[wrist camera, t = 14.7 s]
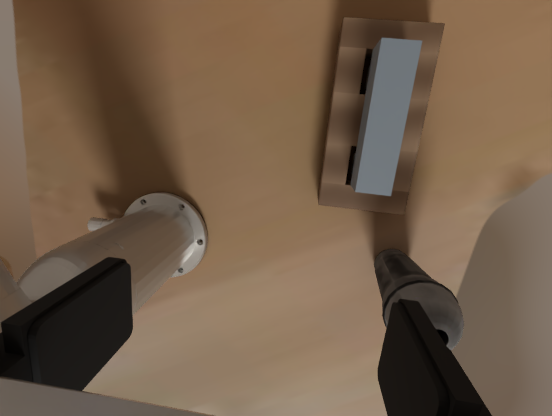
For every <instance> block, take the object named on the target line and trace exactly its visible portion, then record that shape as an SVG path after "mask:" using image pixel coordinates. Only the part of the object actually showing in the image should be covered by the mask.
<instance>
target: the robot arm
mask: <svg viewBox="0 0 552 416" xmlns="http://www.w3.org/2000/svg"><path fill="white" fill-rule="evenodd" d="M145 200H146V201H145ZM183 205H184V206H185V207H183ZM88 229H89V230H90V231H92V232H90V233H88V234H86V235H84V236H81V237H79V238H77V239H75V240H73V241H70V242H68V243H66V244H64V245H61V246H59V247H57V248H55V249H53V250H51V251H49V252H47V253H46V254H44V255H43V256H41V257H40V258H39V259H37V260H36V261H35V262H34V263H33V264H32V265H31V266H30V267H29V268H28V269H27V270H26V271H25V272H24V273H23V275H22V276H21V277H20V279H19V280H18V282H17V283H16V282H15V280H14V279H13V277H12V276H11V274H10V273H9V271H8V269H7V268H6V266H5V265H4V263H3V262H2V260H1V259H0V416H214V415H209V414H204V413H198V412H193V411H188V410H183V409H177V408H172V407H166V406H161V405H156V404H150V403H145V402H140V401H134V400H129V399H123V398H118V397H112V396H107V395H101V394H96V393H90V392H84V391H82V390H83V389H84V388H85V387H86V386H87V384H88V383H89V382H90V381H91V380H92V379H93V378H94V377H95V376H96V374H97V373H98V372H99V371H100V370H101V369H102V368H103V367H104V365H105V364H106V363H107V362H108V361H109V360H110V359H111V358H112V356H113V355H114V354H115V353H116V352H117V351H118V350H119V349H120V347H121V346H122V345H123V344H124V343H125V342H126V341H127V340H128V338H129V337H130V335H131V333H132V329H133V318H132V316H133V315H134V314H135V313H136V312H137V311H138V310H139V309H140V308H141V307H142V306H143V305H144V304H145V303H146V301H147V300H148V299H149V298H150V297H151V296H152V295H153V294H154V293H155V292H156V291H157V290H158V289H159V288H160V287H161V286H162V285H163V284H164V283H165V282H166V281H167V280H168V279H169V278H170V277H177V276H181V275H184V274H186V273H188V272H190V271H191V270H192V269H194V268H195V267H196V266H197V265H198V263H199V262H200V261H201V260H202V258H203V256H204V254H205V251H206V248H207V241H208V237H207V230H206V226H205V223H204V221H203V219H202V217H201V215H200V214H199V212H198V211H197V210H196V209H195V208H194V207H193V206H192V205H191V204H190V203H189V202H188V201H186V200H185V199H183V198H181V197H179V196H177V195H174V194H170V193H166V192H156V193H151V194H147V195H145V196H142V197H140V198H138V199H137V200H135V201H134V202H133V203H132V204H131V205H130V206H129V207H128V209H127V210H126V212H125V214H124V216H123V217H122V218H120V219H119V218H114V219H112V220H107V219H103V218H95V217H93V218H91V219H90V220H89V222H88ZM201 240H202V241H201ZM182 268H183V269H182ZM378 381H379V385H380V389H381V392H382V396H383V400H384V404H385V408H386V411H387V415H388V416H492V415H491V414H490V412H489V410H488V409H487V407H486V406H485V404H484V402H483V401H482V399H481V398H480V396H479V394H478V393H477V391H476V390H475V388H474V387H473V385H472V383H471V382H470V380H469V379H468V377H467V376H466V374H465V372H464V371H463V369H462V367H461V366H460V364H459V363H458V361H457V360H456V358H455V356H454V355H453V354H452V352H451V350H450V349H449V348H448V347H447V346H446V345H445V343H444V341H443V340H442V338H441V337H440V335H439V333H438V332H437V330H436V329H435V327H434V325H433V324H432V322H431V321H430V319H429V317H428V316H427V314H426V313H425V311H424V309H423V308H422V306H421V305H420V303H419V302H418V301H414V300H407V299H399V300H398V302H393V303H392V306H391V310H390V315H389V320H388V324H387V329H386V333H385V338H384V343H383V347H382V352H381V356H380V361H379V366H378Z"/></svg>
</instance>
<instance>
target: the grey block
mask: <svg viewBox="0 0 552 416" xmlns="http://www.w3.org/2000/svg"><path fill="white" fill-rule="evenodd" d="M421 45H422V41H420V40H407V39H393V38H381V39H380V41H379V42H378V43H377V45H376V46H375V47H374V49H373V52H372V58H371V64H370V66H369V67H368V71H367V77H366V83H365V89H364V91H366V94H365V100H364V106H363V112H362V118H361V124H360V130H359V137H358V143H357V149H356V154H354V156H353V162H352V168H351V174H352V179H351V187H352V188H353V190H354V191H355V192H360V193H368V194H376V195H385V196H391V193H392V188H393V183H394V178H395V173H396V168H397V164H398V159H399V154H400V149H401V144H402V139H403V134H404V129H405V124H406V119H407V114H408V109H409V104H410V99H411V95H412V90H413V85H414V80H415V75H416V70H417V65H418V60H419V55H420V50H421Z"/></svg>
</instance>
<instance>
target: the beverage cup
mask: <svg viewBox="0 0 552 416" xmlns="http://www.w3.org/2000/svg"><path fill="white" fill-rule="evenodd" d="M374 267H375V273H376V277H377V281H378V285H379V289H380V293H381V297H382V301H383V303H382V309H383V315H382V316H383V320H384V323H385V326H386V327H387V324H388V320H389V315H390V310H391V306H392V303H393V302H398V300H399V299H407V300H414V301H418V302H419V303H420V305H421V306H422V308H423V309H424V311H425V313H426V314H427V316H428V317H429V319H430V321H431V322H432V324H433V325H434V327H435V329H436V330H437V332H438V333H439V335H440V337H441V338H442V340H443V341H444V343H445V345H446V346H447V347H448V348H449V349H450V350H452V349H453V348H454V347H455V346H456V345H457V344H458V342H459V340H460V339H461V337H462V333H463V327H464V321H463V315H462V311H461V308H460V306H459V305H458V301H457V299H456V298H455V296H454V295H453V293H452V292H451V291H450V290H449V289H448V288H446V287H445V286H444V285H442V284H439V283H438V282H437V281H435V280H434V279H432V278H431V277H430V276H429V275H428V274H426V273H425V272H424V271H423V270H422V269H421V268H420V267H419V266H418V265H417V264H416V263H415V262H414V261H413V260H411V259H410V258H409V257H408V256H407V255H405V254H404V253H403V252H401V251H399V250H397V249H388V250H384V251H383V252H381V253H380V254H379V255H378V256H377V257H376V259H375V263H374Z"/></svg>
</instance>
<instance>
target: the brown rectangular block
mask: <svg viewBox="0 0 552 416" xmlns="http://www.w3.org/2000/svg"><path fill="white" fill-rule="evenodd" d="M444 25H445V23H429V22H413V21H397V20H381V19H365V18H349V17H344V18H343V22H342V26H341V29H340V36H339V44H338V51H337V59H336V66H335V74H334V81H333V89H332V96H331V104H330V111H329V119H328V126H327V134H326V141H325V149H324V156H323V164H322V171H321V179H320V186H319V194H318V204H319V205H324V206H332V207H341V208H349V209H357V210H366V211H374V212H383V213H391V214H399V215H404V214H405V210H406V205H407V200H408V195H409V191H410V186H411V181H412V176H413V172H414V167H415V162H416V158H417V153H418V148H419V143H420V139H421V134H422V129H423V124H424V120H425V115H426V110H427V105H428V101H429V96H430V91H431V87H432V82H433V77H434V72H435V68H436V63H437V58H438V53H439V49H440V44H441V39H442V35H443V30H444ZM381 38H393V39H407V40H420V41H422V45H421V50H420V55H419V60H418V65H417V70H416V75H415V80H414V85H413V90H412V95H411V99H410V104H409V109H408V114H407V119H406V124H405V129H404V134H403V139H402V144H401V149H400V154H399V159H398V164H397V168H396V173H395V178H394V183H393V188H392V193H391V196H385V195H376V194H368V193H360V192H355V191H354V190H353V188H352V187H351V181H350V180H346V177H347V170H348V164H349V157H350V151H351V146H357V143H358V137H359V130H360V124H361V118H362V112H363V106H364V100H365V95H364V94H359V93H360V86H361V80H362V74H363V67H364V61H365V58H372V52H373V49H374V47H375V46H376V45H377V43H378V42H379V41H380V39H381Z"/></svg>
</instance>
